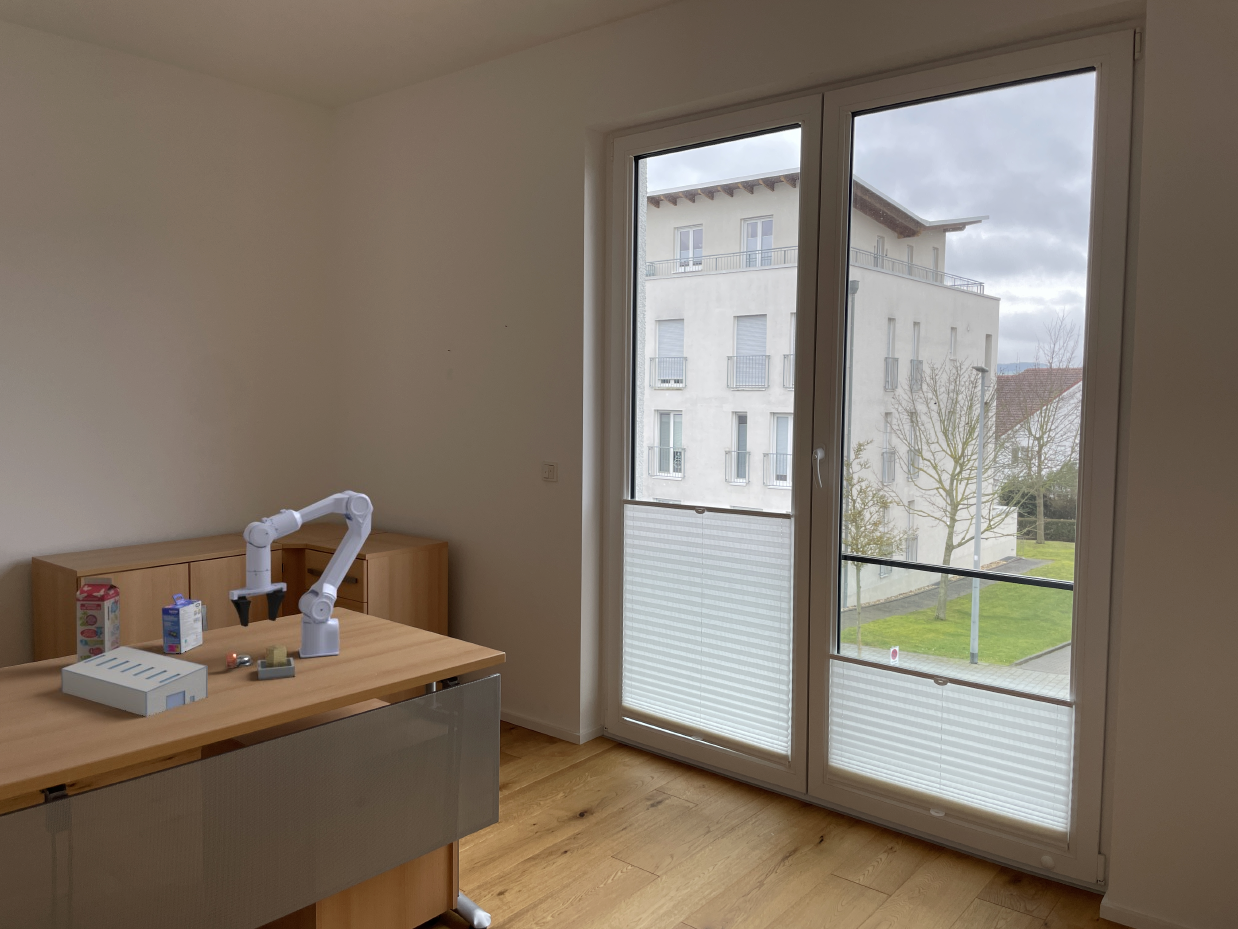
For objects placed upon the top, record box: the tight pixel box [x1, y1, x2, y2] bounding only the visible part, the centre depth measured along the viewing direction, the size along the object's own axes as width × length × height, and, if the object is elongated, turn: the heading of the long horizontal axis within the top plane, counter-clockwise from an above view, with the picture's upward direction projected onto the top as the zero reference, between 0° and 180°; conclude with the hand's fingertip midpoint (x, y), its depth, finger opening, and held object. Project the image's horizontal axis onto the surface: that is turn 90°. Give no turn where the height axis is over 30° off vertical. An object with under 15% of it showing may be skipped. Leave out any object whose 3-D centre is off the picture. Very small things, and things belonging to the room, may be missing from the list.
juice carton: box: [76, 576, 121, 663], centre depth 212 cm, size 7×7×22 cm
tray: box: [257, 657, 296, 681], centre depth 210 cm, size 8×8×2 cm
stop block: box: [265, 644, 287, 668], centre depth 210 cm, size 3×3×6 cm
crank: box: [225, 651, 251, 669], centre depth 214 cm, size 9×4×4 cm, turn 1°
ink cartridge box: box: [161, 593, 203, 655], centre depth 229 cm, size 10×6×14 cm, turn 174°
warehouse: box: [60, 645, 209, 718], centre depth 193 cm, size 30×14×8 cm, turn 62°
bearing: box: [236, 659, 254, 668], centre depth 217 cm, size 5×5×1 cm
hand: (258, 623), depth 219 cm, fingers open, 7 cm apart
